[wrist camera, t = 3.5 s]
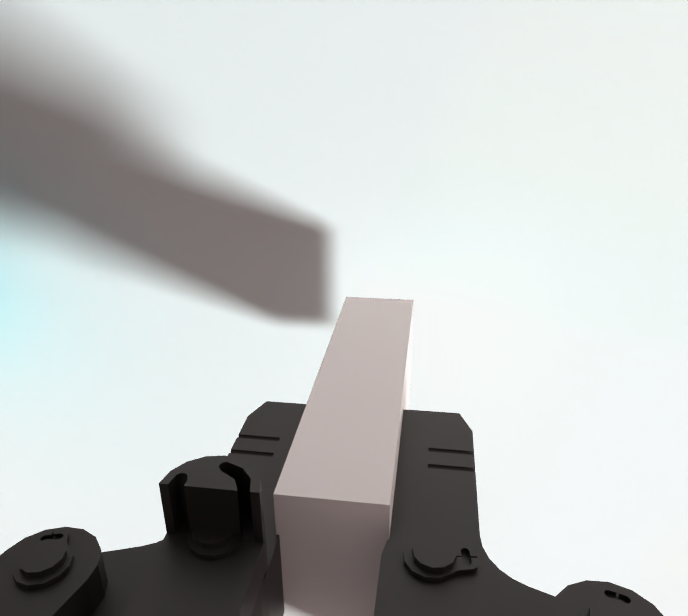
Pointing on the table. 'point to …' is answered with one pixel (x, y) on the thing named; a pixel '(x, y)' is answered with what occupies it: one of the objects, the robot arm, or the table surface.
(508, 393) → the table surface
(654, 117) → the table surface
